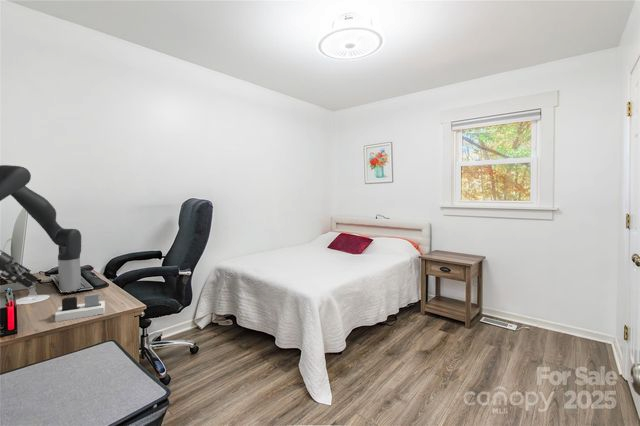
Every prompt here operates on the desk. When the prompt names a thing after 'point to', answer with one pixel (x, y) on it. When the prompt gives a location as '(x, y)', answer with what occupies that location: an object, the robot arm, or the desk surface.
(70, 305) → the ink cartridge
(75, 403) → the desk surface
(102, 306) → the white slotted tray
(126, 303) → the desk surface
